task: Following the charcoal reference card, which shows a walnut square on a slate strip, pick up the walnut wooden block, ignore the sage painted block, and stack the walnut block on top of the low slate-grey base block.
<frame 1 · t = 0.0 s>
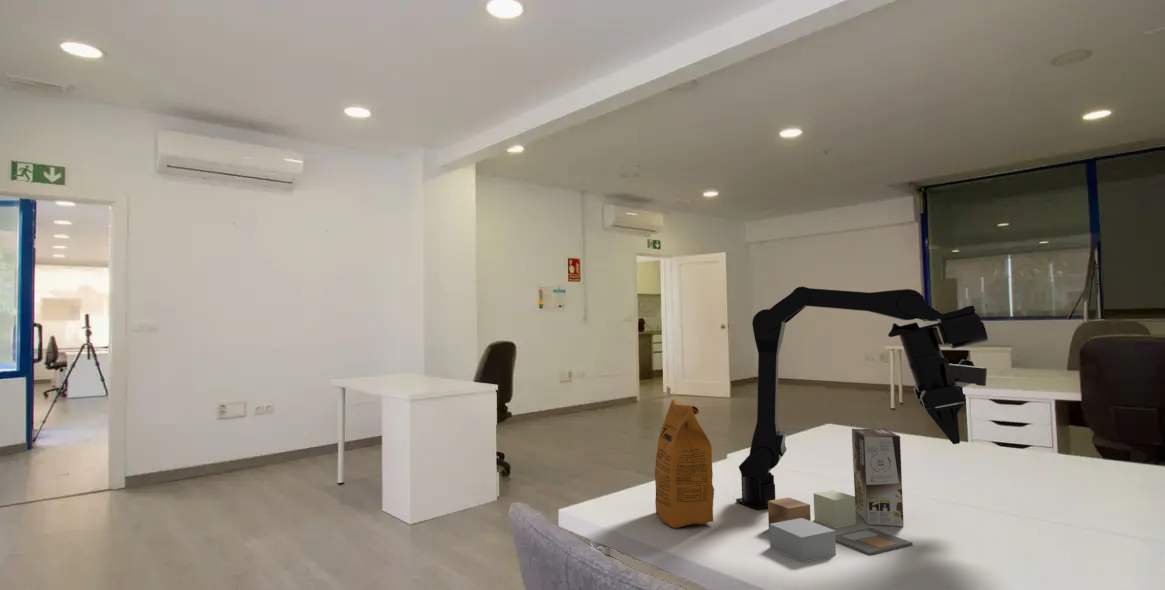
hand: (952, 439, 105), 15 cm above the table, tool pointing down, fingers open, 9 cm apart
reference card: (870, 541, 97), on the table
coffee box: (878, 519, 109), on the table
walnut block: (789, 531, 103), on the table
sage block: (835, 522, 108), on the table
coffee package: (683, 519, 110), on the table
slate base block: (802, 552, 94), on the table
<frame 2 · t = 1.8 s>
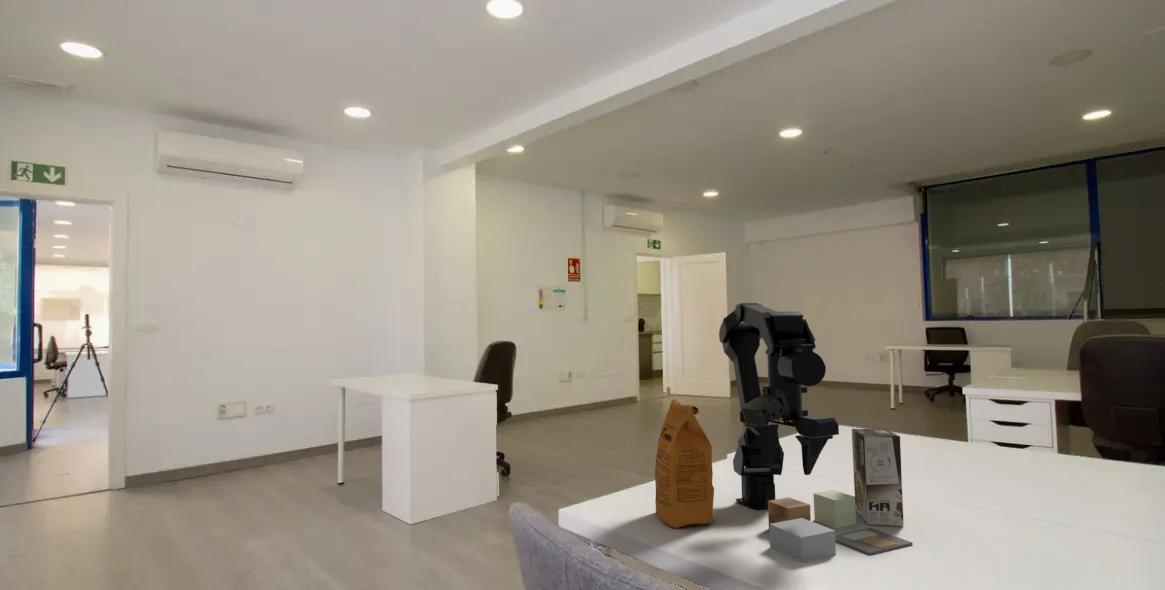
hand: (787, 469, 104), 11 cm above the table, tool pointing down, fingers open, 9 cm apart
nothing on the table moved.
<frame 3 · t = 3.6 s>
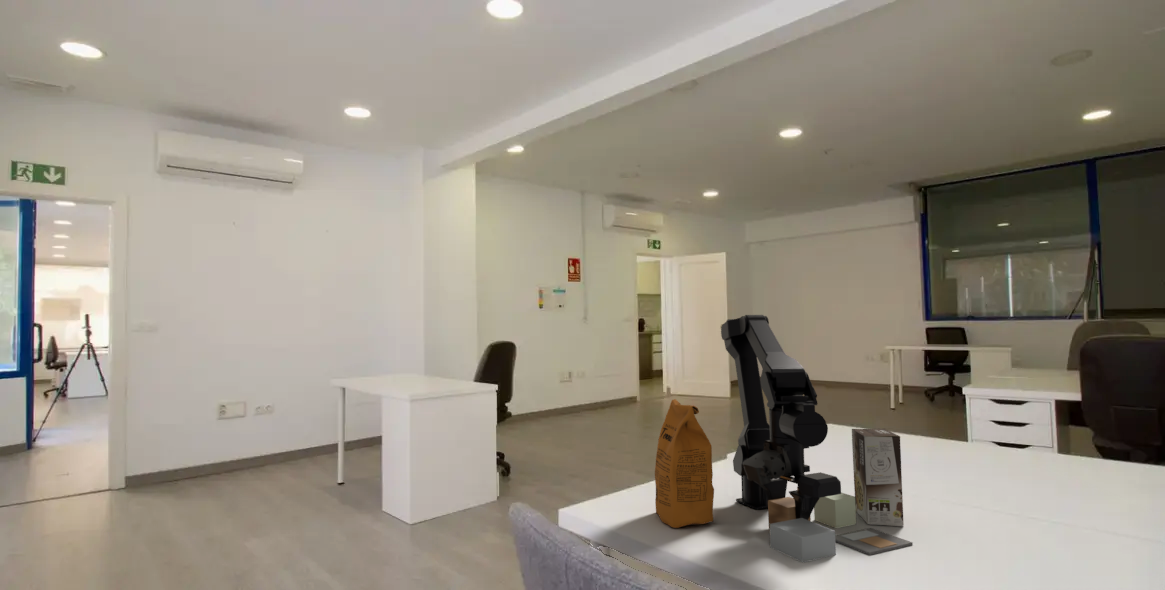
hand: (789, 524, 103), 1 cm above the table, tool pointing down, fingers closed on walnut block, 5 cm apart
walnut block: (789, 530, 103), on the table, touching gripper
everything else where it was.
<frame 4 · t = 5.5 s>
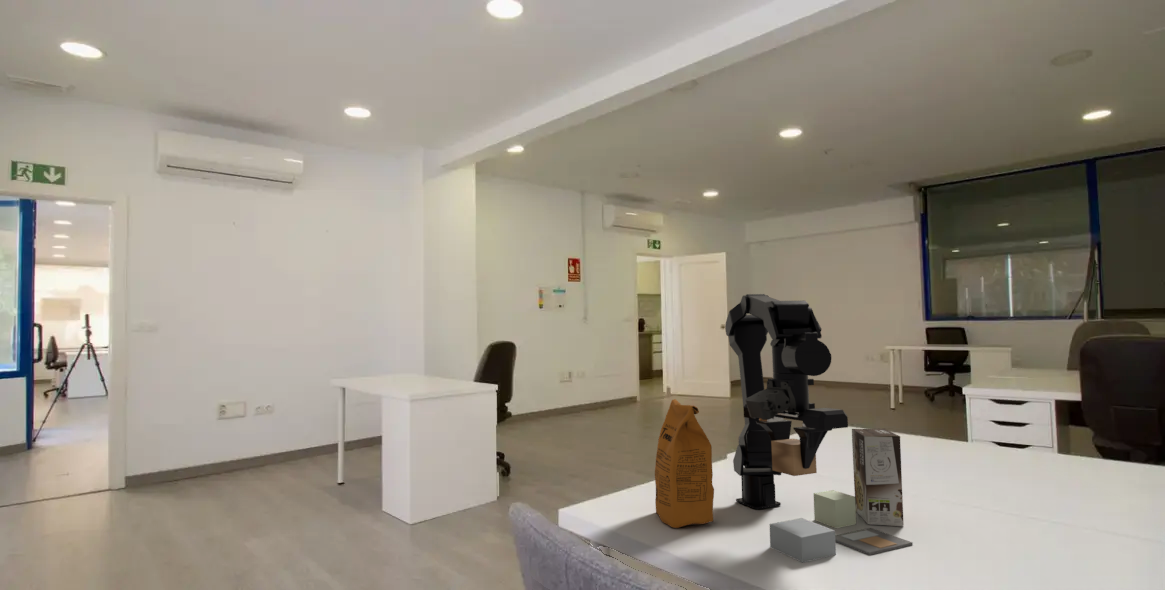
hand: (794, 465, 99), 12 cm above the table, tool pointing down, fingers closed on walnut block, 5 cm apart
walnut block: (794, 471, 99), point 11 cm above the table, touching gripper
everything else where it was.
when the fingers open (6 cm above the table, at t = 7.6 s): walnut block drops 2 cm, resting on slate base block.
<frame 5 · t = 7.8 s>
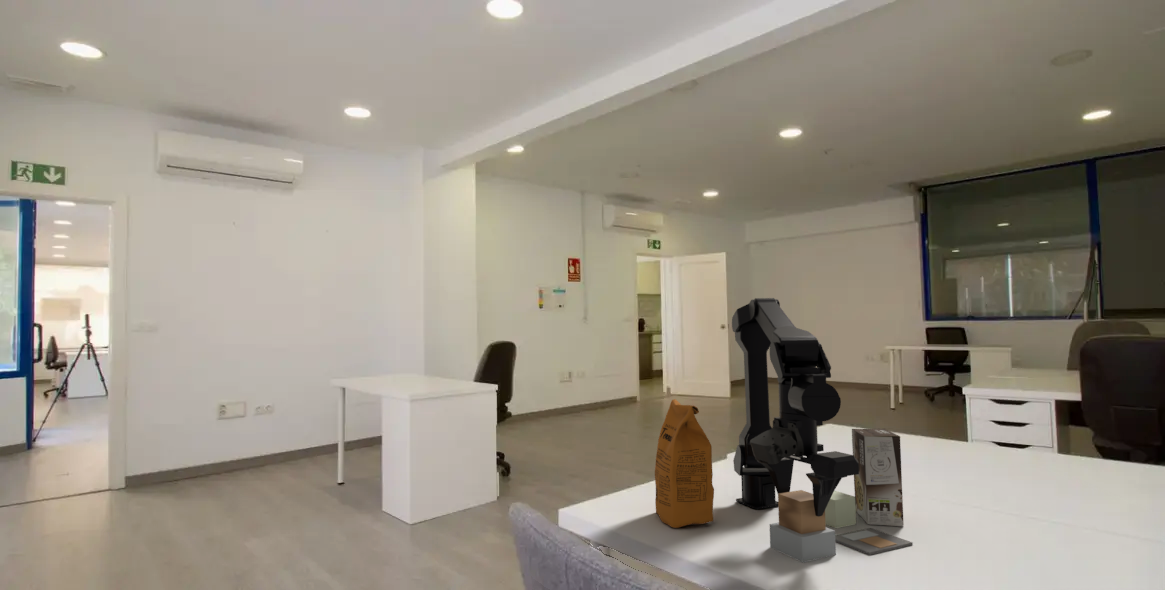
hand: (801, 509, 94), 6 cm above the table, tool pointing down, fingers open, 7 cm apart
walnut block: (802, 527, 94), point 4 cm above the table, touching slate base block
slate base block: (802, 552, 94), on the table, touching walnut block
everything else where it was.
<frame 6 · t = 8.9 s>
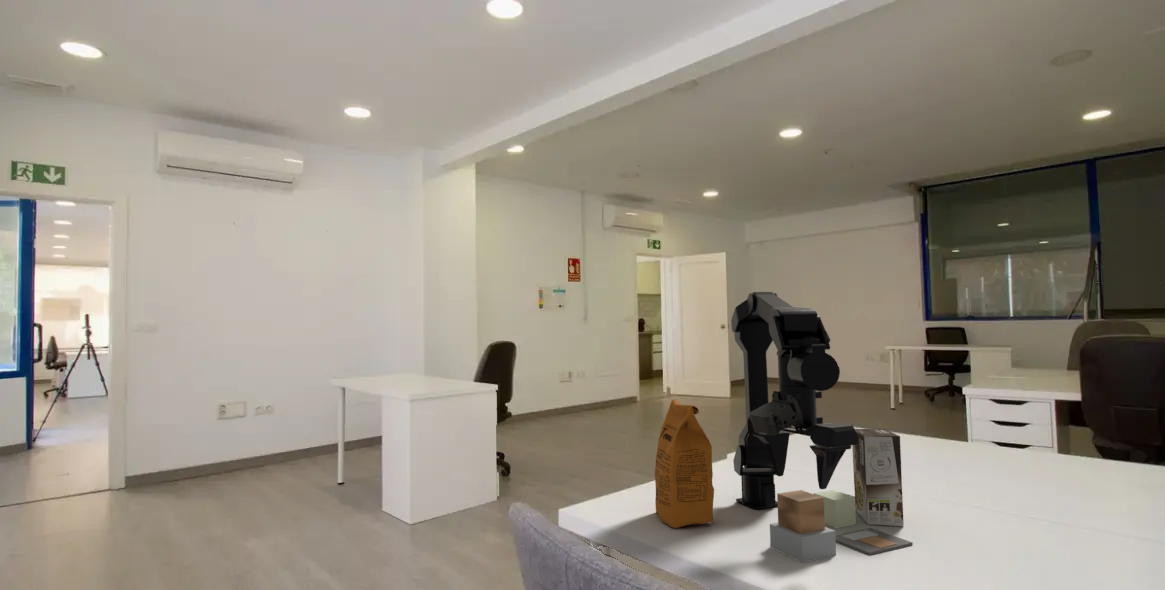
hand: (800, 482, 94), 11 cm above the table, tool pointing down, fingers open, 9 cm apart
nothing on the table moved.
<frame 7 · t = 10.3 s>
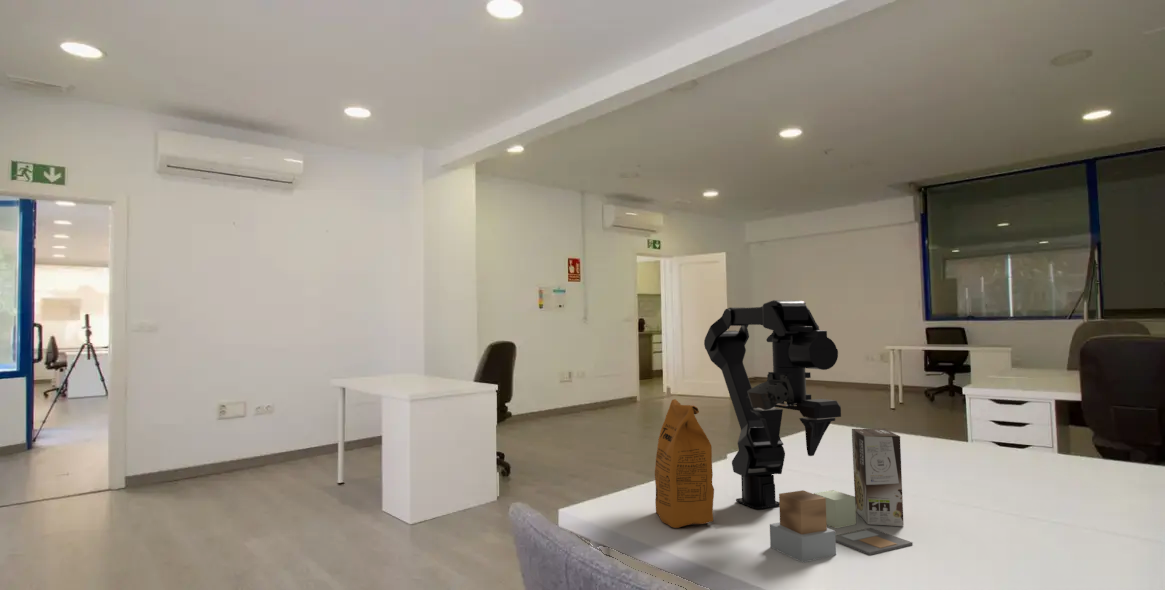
hand: (791, 451, 108), 13 cm above the table, tool pointing down, fingers open, 9 cm apart
nothing on the table moved.
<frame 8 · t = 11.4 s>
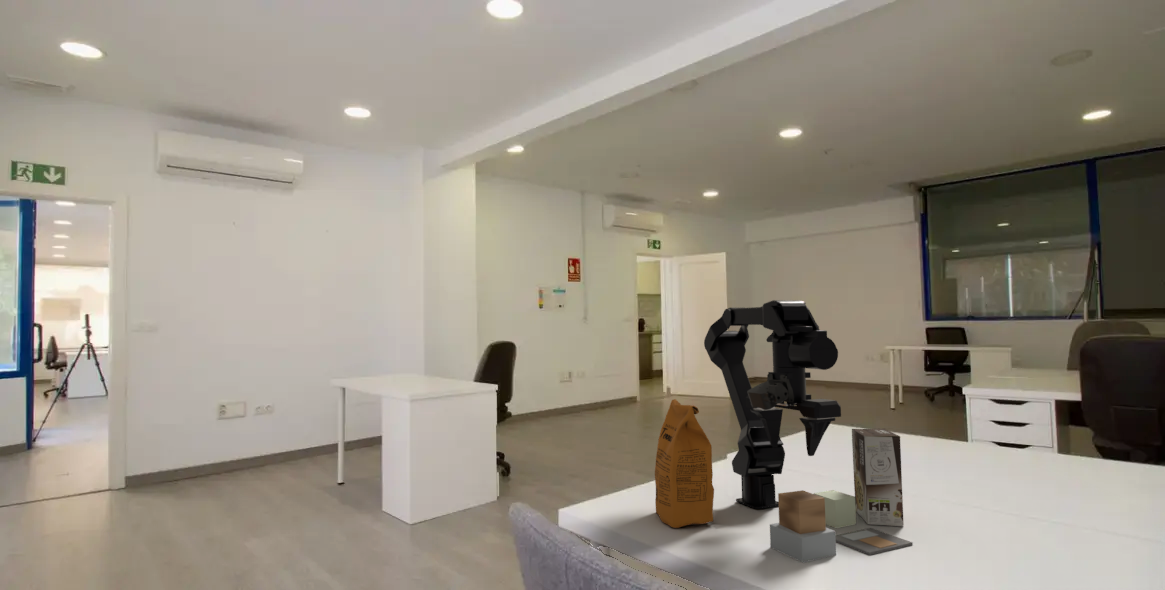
hand: (791, 451, 108), 13 cm above the table, tool pointing down, fingers open, 9 cm apart
nothing on the table moved.
at the end: walnut block 0.1 cm off-centre on the slate base block, point 4.0 cm above the slate base block's base; walnut block tilted 0°; sage block moved 0.1 cm from its start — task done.
